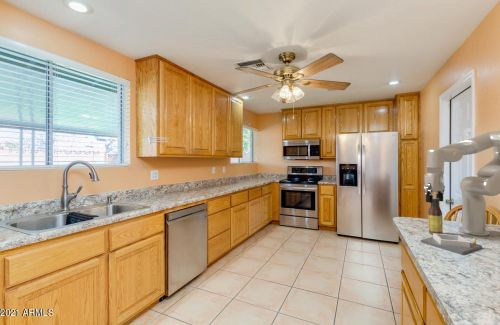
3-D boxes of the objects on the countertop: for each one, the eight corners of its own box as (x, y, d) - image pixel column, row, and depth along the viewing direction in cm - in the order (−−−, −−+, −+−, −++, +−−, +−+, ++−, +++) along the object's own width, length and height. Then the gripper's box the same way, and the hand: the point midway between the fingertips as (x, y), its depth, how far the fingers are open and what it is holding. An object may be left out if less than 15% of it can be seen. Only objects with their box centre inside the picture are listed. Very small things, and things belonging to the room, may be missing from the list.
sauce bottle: (445, 236, 128) (445, 199, 127) (432, 235, 129) (432, 199, 129) (438, 232, 134) (438, 197, 134) (425, 231, 136) (425, 197, 135)
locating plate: (440, 237, 126) (440, 229, 126) (482, 248, 111) (482, 239, 111) (420, 242, 119) (420, 233, 119) (461, 254, 104) (462, 245, 104)
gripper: (436, 170, 138) (436, 199, 138) (418, 170, 131) (417, 201, 131) (452, 171, 131) (451, 201, 131) (433, 171, 124) (432, 204, 124)
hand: (434, 201), depth 131 cm, fingers open, 9 cm apart
